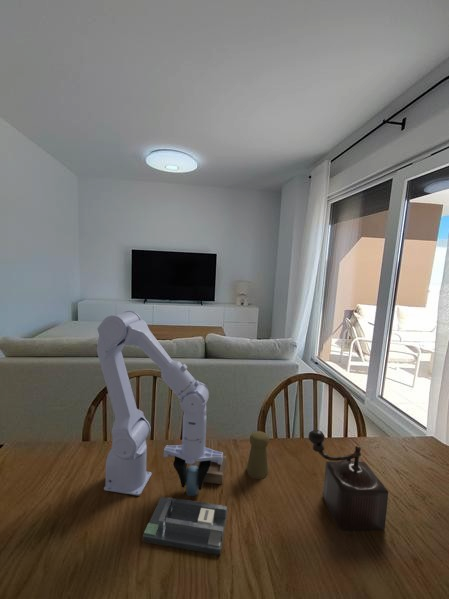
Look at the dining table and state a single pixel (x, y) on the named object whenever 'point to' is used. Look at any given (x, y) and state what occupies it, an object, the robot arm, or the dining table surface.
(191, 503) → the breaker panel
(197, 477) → the blue rounded cylinder
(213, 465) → the stylus holder
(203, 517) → the plate
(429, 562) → the dining table surface
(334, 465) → the manual coffee grinder
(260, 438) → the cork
